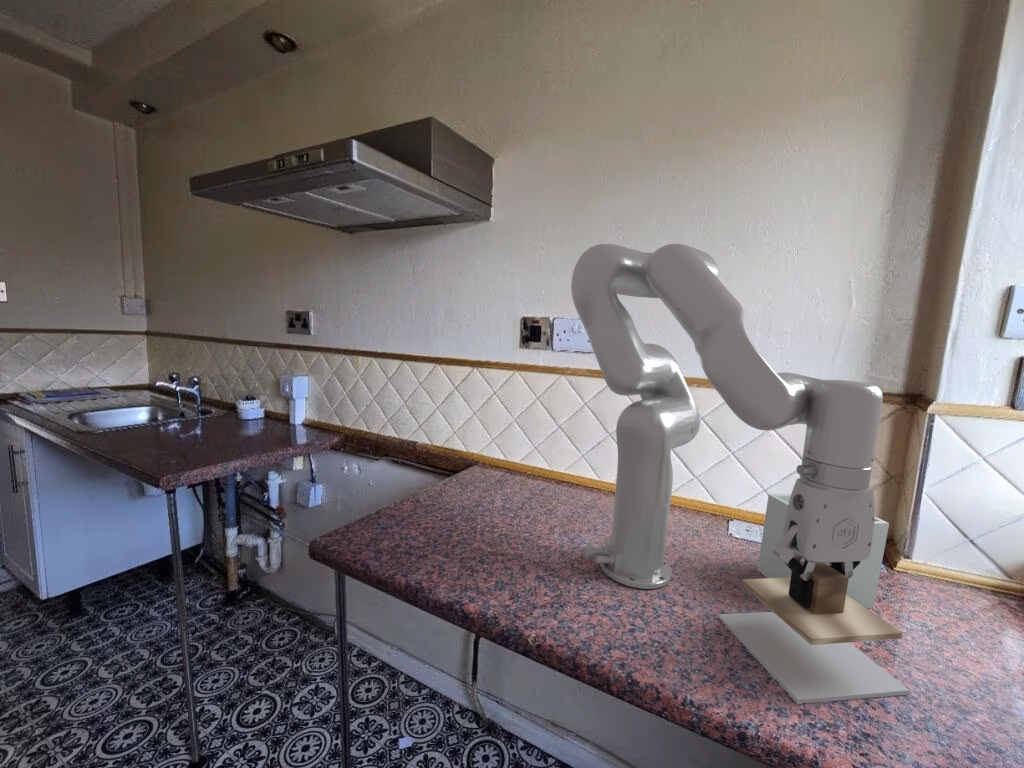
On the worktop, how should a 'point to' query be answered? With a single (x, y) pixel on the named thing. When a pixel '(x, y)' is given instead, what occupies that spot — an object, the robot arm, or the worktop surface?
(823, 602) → the lid
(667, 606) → the worktop surface
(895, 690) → the mat
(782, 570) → the box
